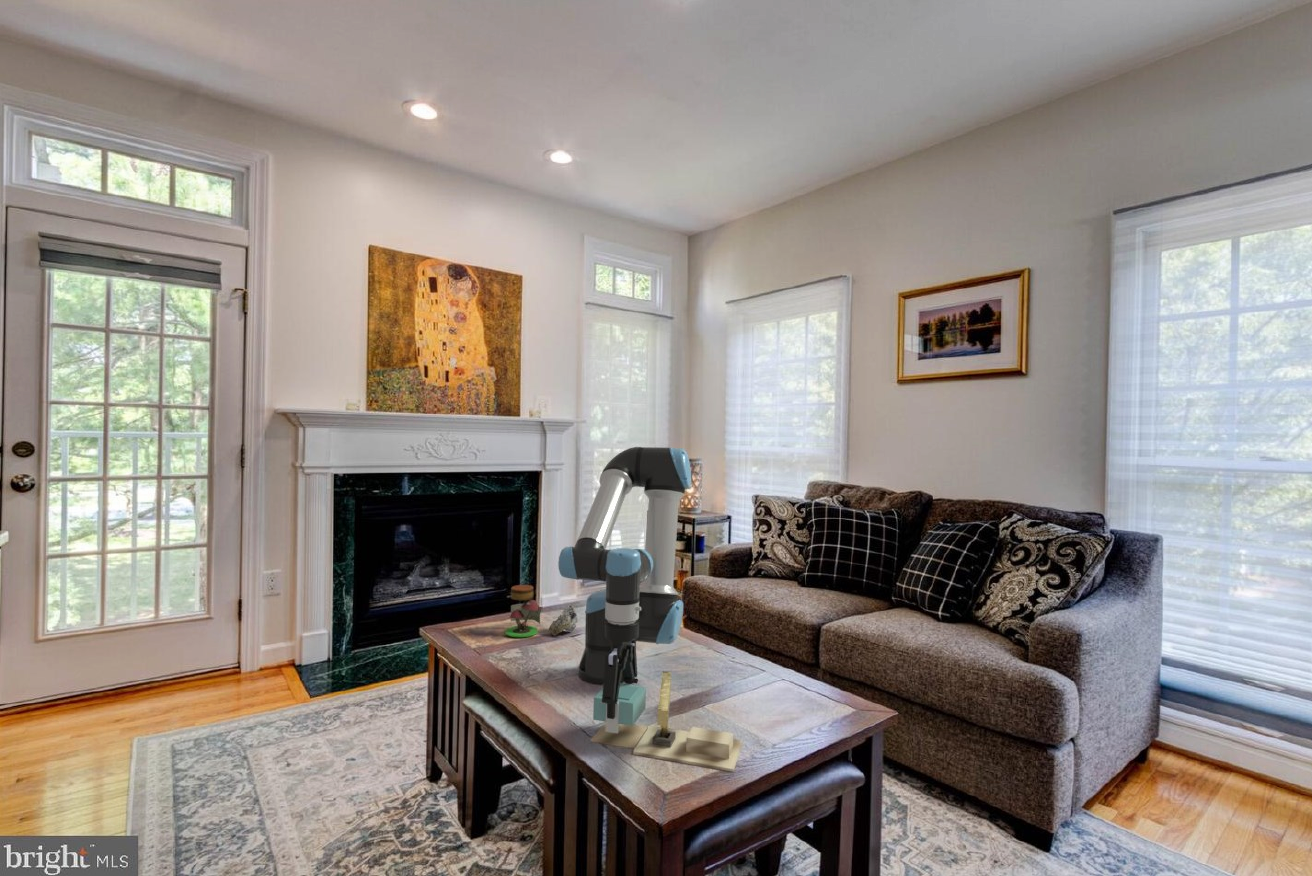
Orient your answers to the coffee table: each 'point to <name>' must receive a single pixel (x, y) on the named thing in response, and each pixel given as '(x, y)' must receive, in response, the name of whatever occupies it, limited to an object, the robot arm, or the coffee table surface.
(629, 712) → the cover
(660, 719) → the t key
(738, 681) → the coffee table surface
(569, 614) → the mineral specimen
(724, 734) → the housing
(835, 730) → the coffee table surface
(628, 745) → the pad
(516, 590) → the mushroom figurine
